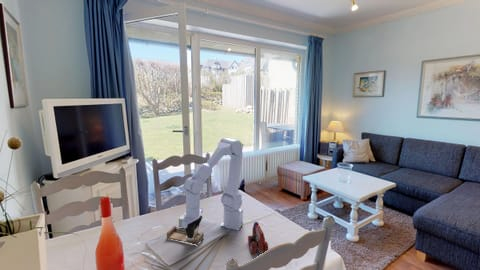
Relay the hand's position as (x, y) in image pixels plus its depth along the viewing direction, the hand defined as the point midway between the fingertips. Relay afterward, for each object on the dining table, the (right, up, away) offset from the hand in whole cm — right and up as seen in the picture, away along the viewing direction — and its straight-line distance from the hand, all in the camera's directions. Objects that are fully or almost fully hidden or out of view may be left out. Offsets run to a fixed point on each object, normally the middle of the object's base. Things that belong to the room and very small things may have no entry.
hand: (192, 234), depth 100 cm
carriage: (0, -2, 0) cm, 2 cm away
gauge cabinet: (-5, -1, +12) cm, 13 cm away
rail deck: (-4, -3, +2) cm, 5 cm away
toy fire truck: (+28, -5, -1) cm, 29 cm away
